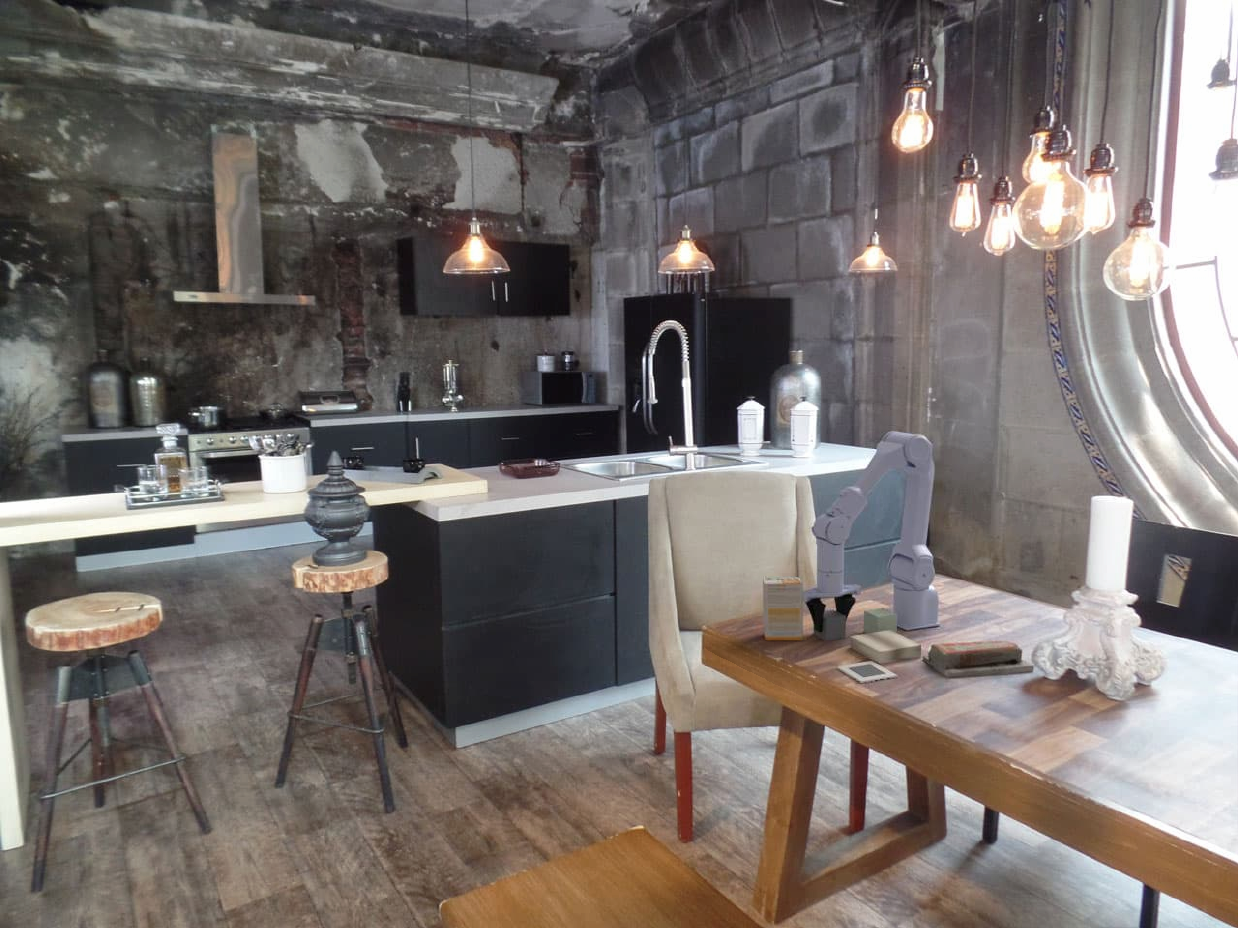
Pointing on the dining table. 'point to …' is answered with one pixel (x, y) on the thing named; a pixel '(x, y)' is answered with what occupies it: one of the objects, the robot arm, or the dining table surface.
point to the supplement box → (783, 608)
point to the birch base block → (885, 646)
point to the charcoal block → (832, 626)
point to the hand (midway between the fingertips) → (829, 629)
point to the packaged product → (977, 658)
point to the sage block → (879, 620)
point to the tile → (866, 671)
